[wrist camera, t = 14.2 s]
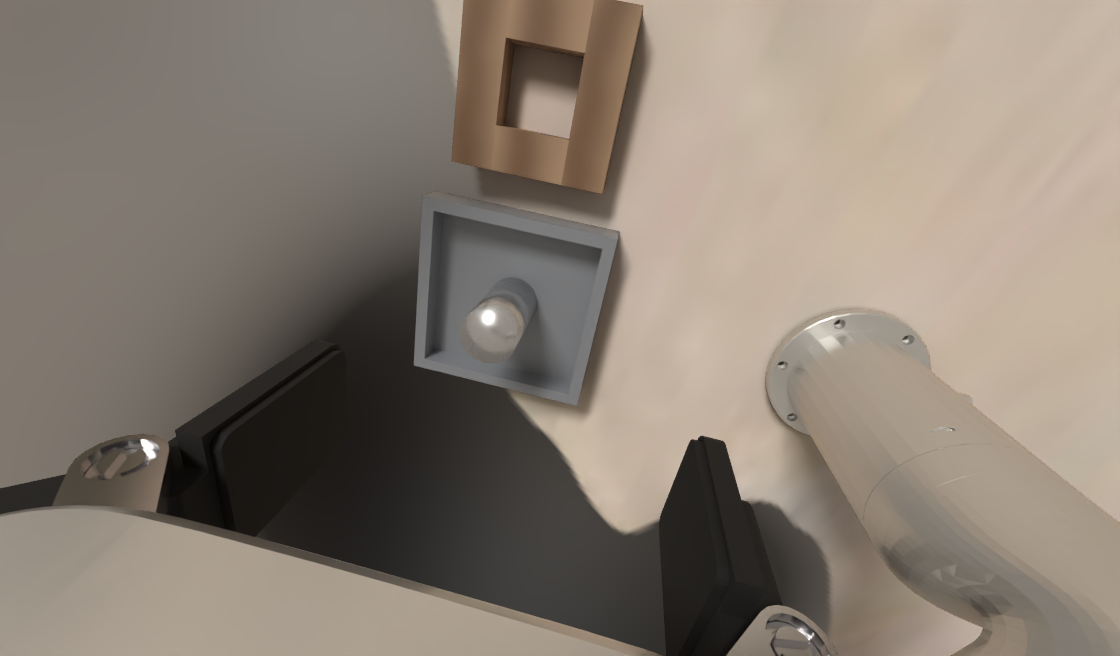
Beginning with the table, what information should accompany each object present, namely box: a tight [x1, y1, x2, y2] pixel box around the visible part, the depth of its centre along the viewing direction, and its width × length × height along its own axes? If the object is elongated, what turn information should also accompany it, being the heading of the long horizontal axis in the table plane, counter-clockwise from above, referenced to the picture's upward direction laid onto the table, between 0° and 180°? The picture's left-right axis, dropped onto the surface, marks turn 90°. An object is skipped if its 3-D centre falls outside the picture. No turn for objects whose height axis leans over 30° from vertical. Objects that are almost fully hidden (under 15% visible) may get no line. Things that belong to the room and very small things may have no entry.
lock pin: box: [459, 277, 537, 364], centre depth 37 cm, size 4×4×8 cm
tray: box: [414, 191, 619, 406], centre depth 40 cm, size 16×16×3 cm
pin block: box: [452, 0, 643, 194], centre depth 33 cm, size 12×12×2 cm
